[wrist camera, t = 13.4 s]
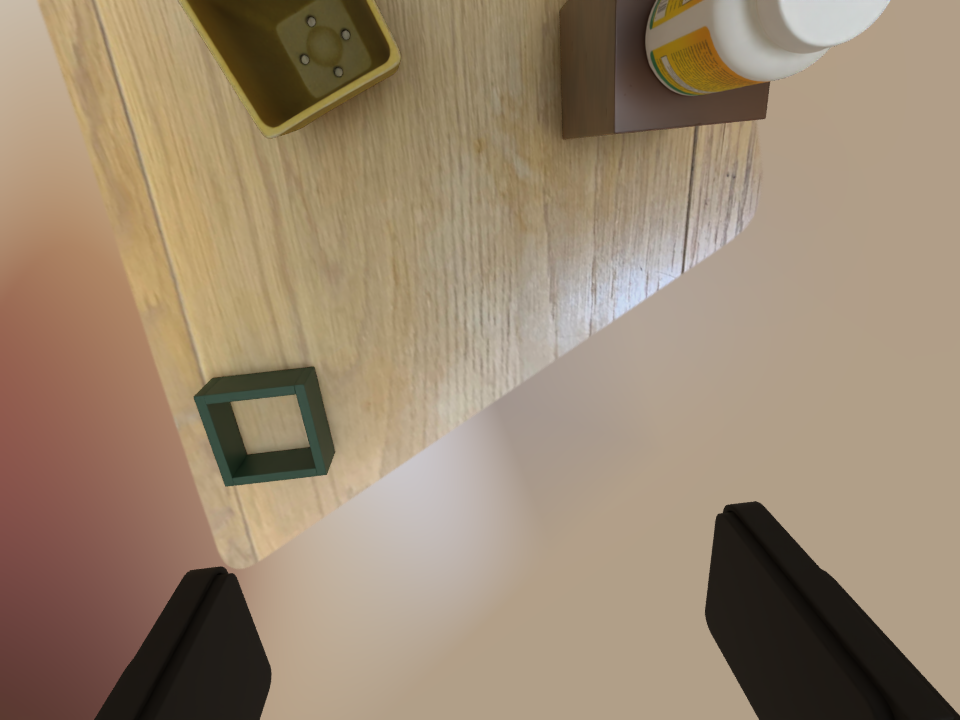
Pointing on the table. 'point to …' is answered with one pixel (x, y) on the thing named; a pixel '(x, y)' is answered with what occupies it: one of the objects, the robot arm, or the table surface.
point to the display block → (631, 77)
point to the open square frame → (273, 464)
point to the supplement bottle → (747, 39)
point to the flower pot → (295, 54)
